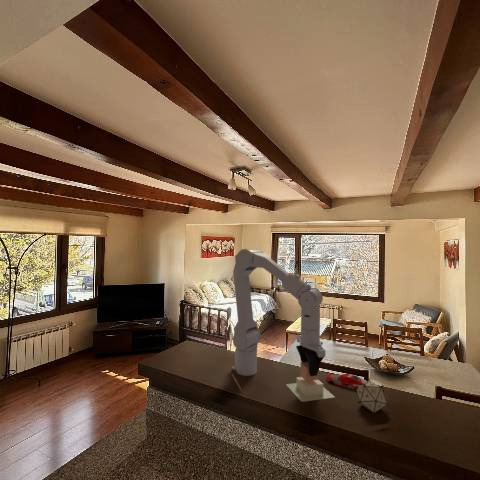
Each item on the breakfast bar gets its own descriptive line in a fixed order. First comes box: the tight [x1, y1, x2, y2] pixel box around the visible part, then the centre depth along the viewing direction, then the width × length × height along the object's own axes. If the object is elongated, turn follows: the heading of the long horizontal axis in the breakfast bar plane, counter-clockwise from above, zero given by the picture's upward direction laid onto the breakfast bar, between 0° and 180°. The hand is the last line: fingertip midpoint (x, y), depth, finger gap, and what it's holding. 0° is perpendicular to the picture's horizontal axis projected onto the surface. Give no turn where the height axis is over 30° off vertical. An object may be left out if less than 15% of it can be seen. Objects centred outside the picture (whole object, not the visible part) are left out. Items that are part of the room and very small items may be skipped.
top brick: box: [299, 362, 319, 381], centre depth 93 cm, size 4×4×4 cm
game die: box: [353, 376, 391, 414], centre depth 83 cm, size 9×8×10 cm
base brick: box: [295, 376, 324, 396], centre depth 93 cm, size 6×6×3 cm
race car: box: [325, 373, 368, 390], centre depth 98 cm, size 13×5×4 cm, turn 57°
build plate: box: [285, 382, 336, 403], centre depth 93 cm, size 11×11×1 cm
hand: (309, 372), depth 93 cm, fingers closed on top brick, 4 cm apart
